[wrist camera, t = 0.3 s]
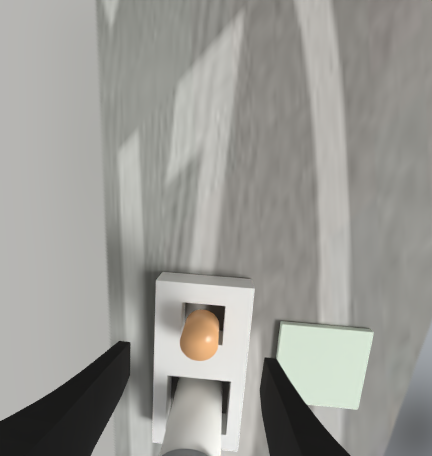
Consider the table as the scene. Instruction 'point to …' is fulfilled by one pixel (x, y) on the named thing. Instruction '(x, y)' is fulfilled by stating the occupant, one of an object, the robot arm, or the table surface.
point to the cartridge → (194, 419)
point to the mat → (325, 362)
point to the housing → (219, 363)
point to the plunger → (200, 335)
